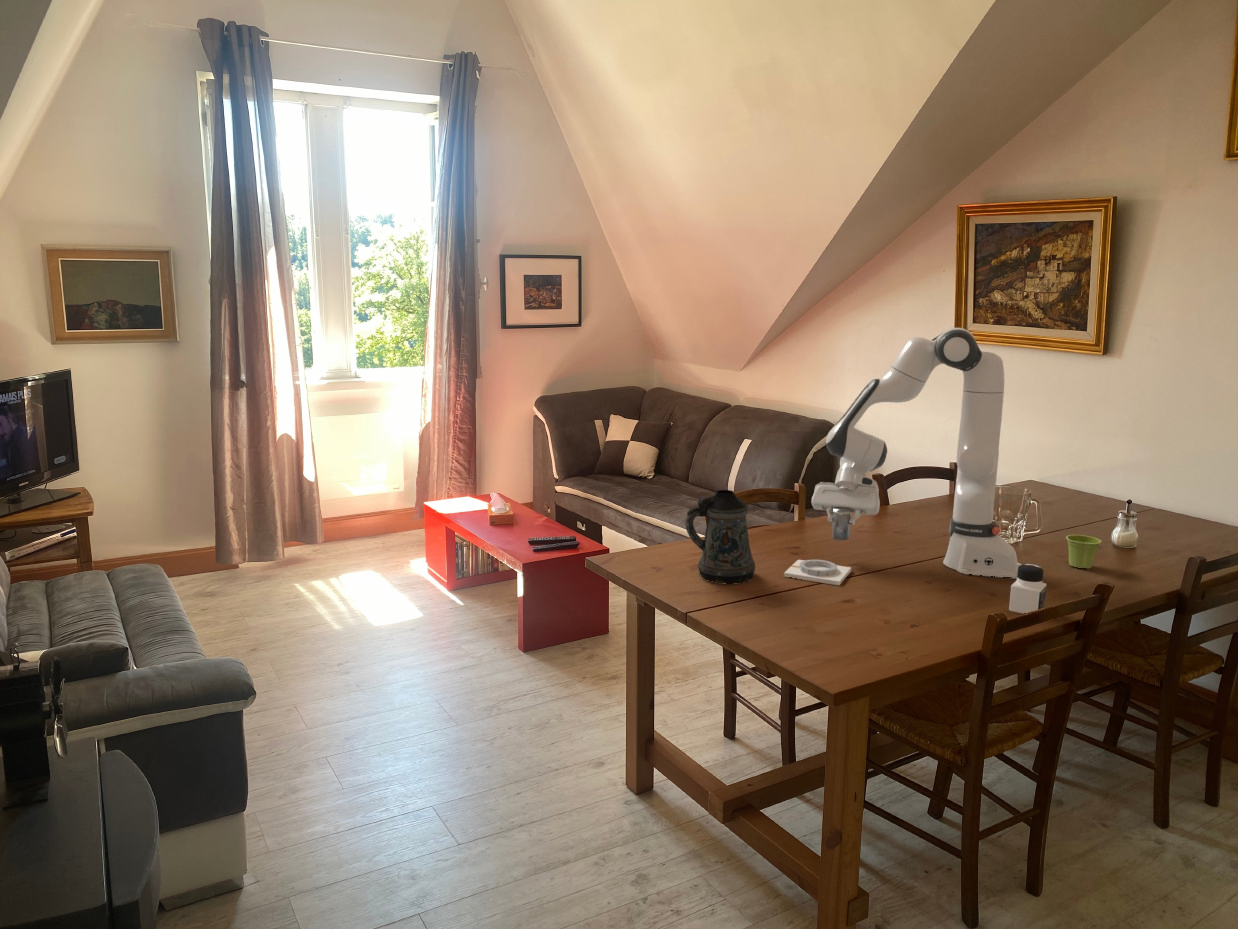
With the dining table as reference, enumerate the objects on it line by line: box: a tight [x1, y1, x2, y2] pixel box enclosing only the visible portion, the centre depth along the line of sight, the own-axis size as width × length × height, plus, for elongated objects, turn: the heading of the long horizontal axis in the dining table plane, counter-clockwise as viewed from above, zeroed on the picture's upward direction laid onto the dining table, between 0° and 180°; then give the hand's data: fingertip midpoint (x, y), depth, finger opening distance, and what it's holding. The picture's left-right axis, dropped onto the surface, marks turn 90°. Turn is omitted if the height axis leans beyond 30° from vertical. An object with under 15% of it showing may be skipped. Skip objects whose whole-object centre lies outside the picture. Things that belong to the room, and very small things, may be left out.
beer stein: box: [684, 489, 756, 585], centre depth 258 cm, size 16×19×25 cm
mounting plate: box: [783, 559, 852, 586], centre depth 263 cm, size 16×14×3 cm
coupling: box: [832, 507, 851, 541], centre depth 273 cm, size 5×5×9 cm
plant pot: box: [1065, 534, 1102, 568], centre depth 270 cm, size 9×9×9 cm
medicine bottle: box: [1008, 563, 1047, 615], centre depth 234 cm, size 7×7×12 cm
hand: (840, 522), depth 272 cm, fingers closed on coupling, 5 cm apart
